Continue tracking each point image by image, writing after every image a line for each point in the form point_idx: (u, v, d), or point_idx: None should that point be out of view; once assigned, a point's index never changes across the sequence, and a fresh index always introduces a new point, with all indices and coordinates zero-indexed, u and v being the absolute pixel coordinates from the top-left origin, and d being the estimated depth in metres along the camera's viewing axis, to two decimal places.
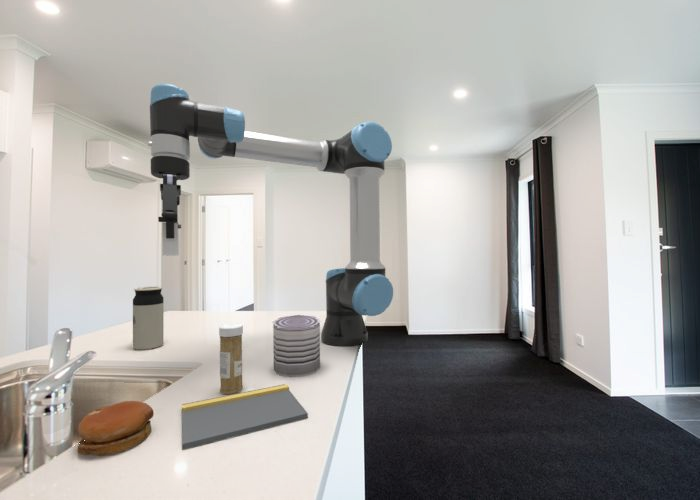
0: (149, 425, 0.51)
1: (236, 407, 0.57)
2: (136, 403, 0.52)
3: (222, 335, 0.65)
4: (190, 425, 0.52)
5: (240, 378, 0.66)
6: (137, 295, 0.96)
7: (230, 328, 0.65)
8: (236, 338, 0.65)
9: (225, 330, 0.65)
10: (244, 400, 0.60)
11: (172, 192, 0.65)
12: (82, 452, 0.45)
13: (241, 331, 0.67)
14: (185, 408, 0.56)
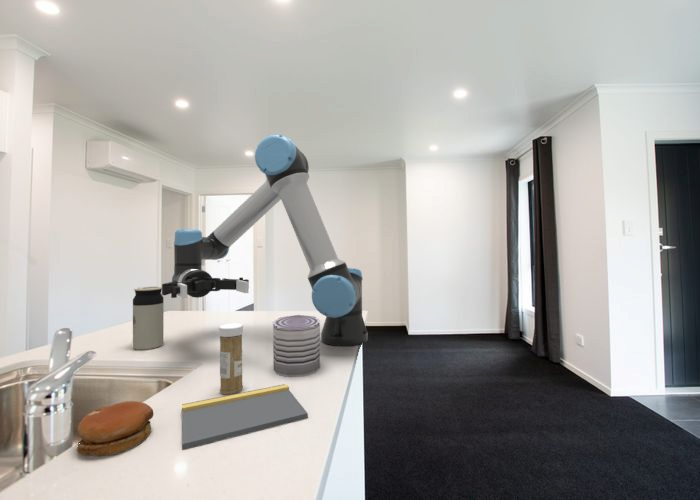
0: (149, 425, 0.51)
1: (236, 407, 0.57)
2: (136, 403, 0.52)
3: (222, 335, 0.65)
4: (190, 425, 0.52)
5: (240, 378, 0.66)
6: (137, 295, 0.96)
7: (230, 328, 0.65)
8: (236, 338, 0.65)
9: (225, 330, 0.65)
10: (244, 400, 0.60)
11: None
12: (82, 452, 0.45)
13: (241, 331, 0.67)
14: (185, 408, 0.56)
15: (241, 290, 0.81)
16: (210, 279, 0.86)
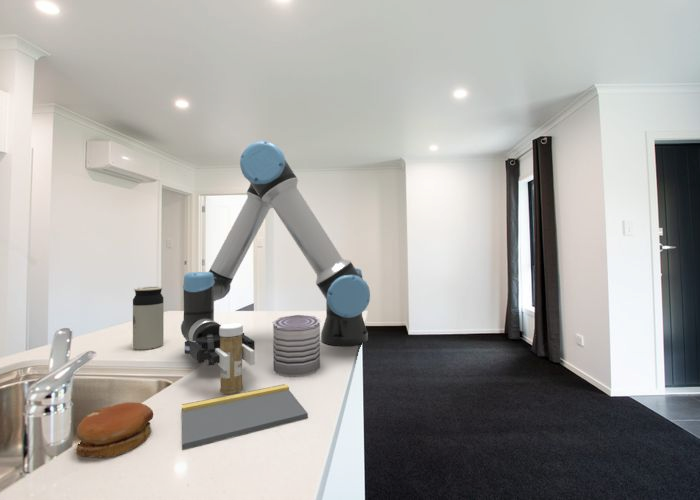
0: (149, 427, 0.51)
1: (236, 407, 0.57)
2: (136, 404, 0.51)
3: (222, 335, 0.65)
4: (190, 425, 0.52)
5: (240, 378, 0.66)
6: (137, 295, 0.96)
7: (230, 328, 0.65)
8: (236, 338, 0.65)
9: (225, 330, 0.65)
10: (244, 400, 0.60)
11: (191, 348, 0.69)
12: (81, 454, 0.45)
13: (241, 331, 0.67)
14: (185, 408, 0.56)
15: (246, 359, 0.66)
16: None
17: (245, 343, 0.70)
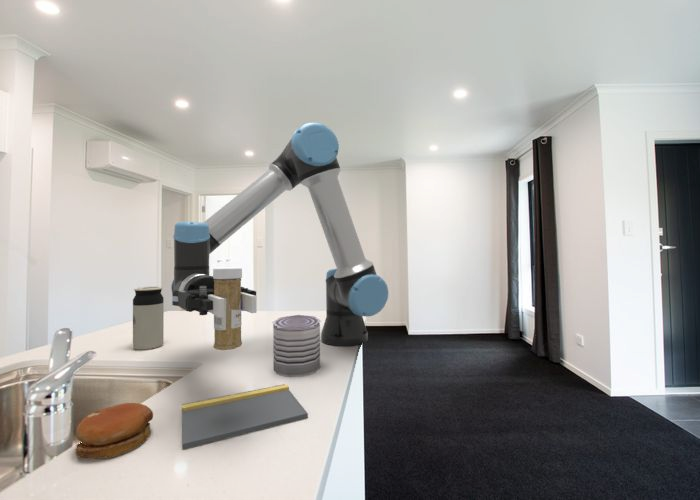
0: (148, 427, 0.51)
1: (236, 407, 0.57)
2: (135, 405, 0.51)
3: (216, 277, 0.53)
4: (190, 425, 0.52)
5: (238, 331, 0.54)
6: (137, 295, 0.96)
7: (226, 268, 0.53)
8: (233, 281, 0.53)
9: (220, 270, 0.52)
10: (244, 400, 0.60)
11: (180, 297, 0.57)
12: (80, 455, 0.45)
13: (240, 274, 0.54)
14: (185, 408, 0.56)
15: (245, 308, 0.54)
16: None
17: (245, 292, 0.58)
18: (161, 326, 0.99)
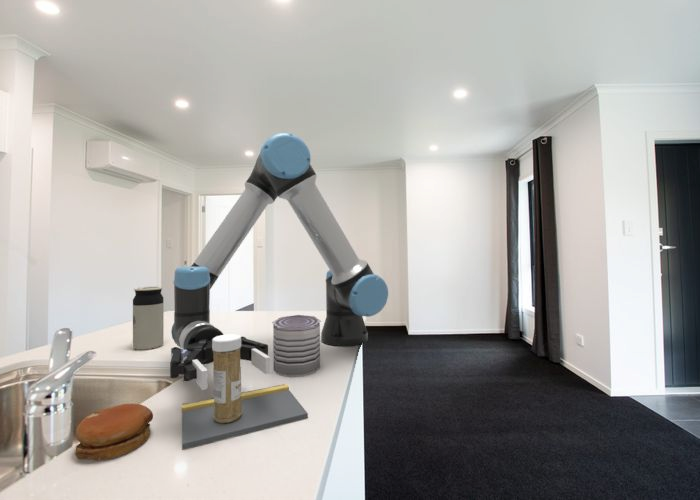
0: (148, 428, 0.50)
1: None
2: (135, 406, 0.51)
3: (216, 350, 0.52)
4: (190, 425, 0.52)
5: (239, 402, 0.54)
6: (137, 295, 0.96)
7: (225, 341, 0.52)
8: (232, 353, 0.53)
9: (219, 343, 0.52)
10: (244, 400, 0.60)
11: None
12: (80, 456, 0.44)
13: (239, 344, 0.54)
14: (185, 408, 0.56)
15: (259, 367, 0.56)
16: None
17: (258, 347, 0.60)
18: (161, 326, 0.99)
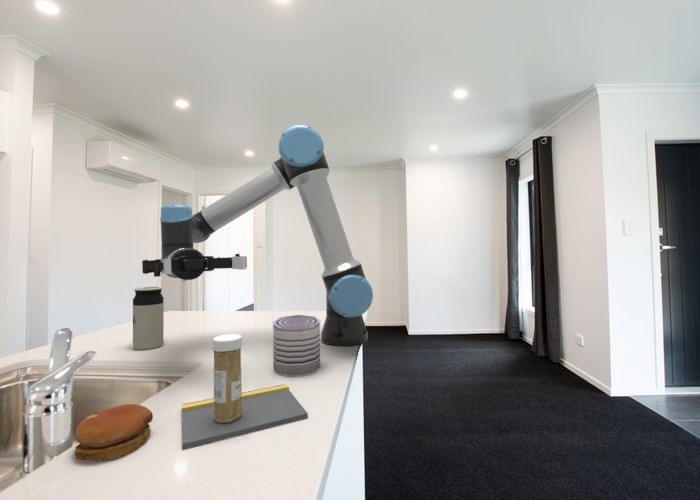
0: (148, 429, 0.50)
1: None
2: (135, 406, 0.51)
3: (216, 349, 0.52)
4: (190, 425, 0.52)
5: (239, 402, 0.54)
6: (137, 295, 0.96)
7: (226, 341, 0.52)
8: (233, 353, 0.53)
9: (220, 343, 0.52)
10: (244, 400, 0.60)
11: None
12: (79, 457, 0.44)
13: (240, 344, 0.54)
14: (185, 408, 0.56)
15: (237, 267, 0.68)
16: (201, 257, 0.74)
17: None
18: (161, 326, 0.99)
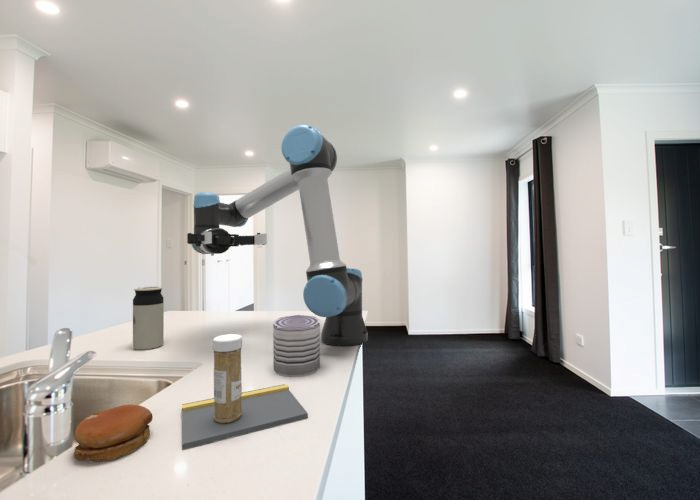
0: (148, 430, 0.50)
1: None
2: (135, 407, 0.50)
3: (216, 349, 0.52)
4: (190, 425, 0.52)
5: (239, 402, 0.54)
6: (137, 295, 0.96)
7: (226, 341, 0.52)
8: (233, 353, 0.53)
9: (220, 343, 0.52)
10: (244, 400, 0.60)
11: None
12: (79, 457, 0.44)
13: (240, 344, 0.54)
14: (185, 408, 0.56)
15: (259, 242, 0.86)
16: (229, 235, 0.92)
17: None
18: (161, 326, 0.99)
